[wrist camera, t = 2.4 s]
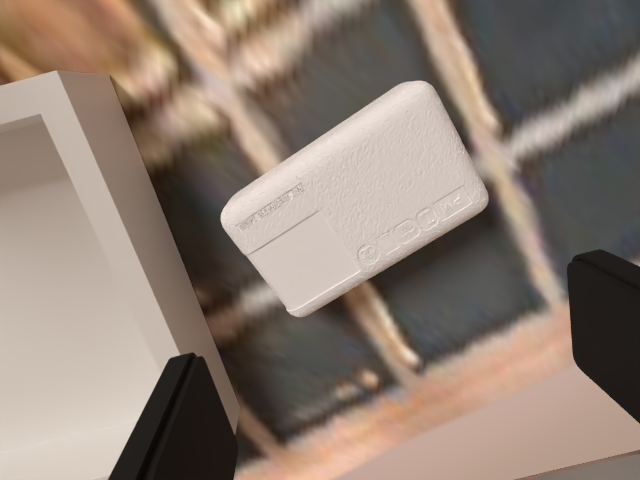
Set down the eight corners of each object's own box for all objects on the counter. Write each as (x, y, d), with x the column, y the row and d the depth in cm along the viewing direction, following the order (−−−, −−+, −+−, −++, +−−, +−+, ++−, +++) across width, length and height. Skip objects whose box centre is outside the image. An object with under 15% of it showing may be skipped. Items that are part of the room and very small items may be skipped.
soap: (409, 74, 16) (432, 70, 13) (470, 189, 18) (502, 207, 15) (223, 198, 18) (208, 219, 15) (296, 295, 19) (295, 330, 16)
